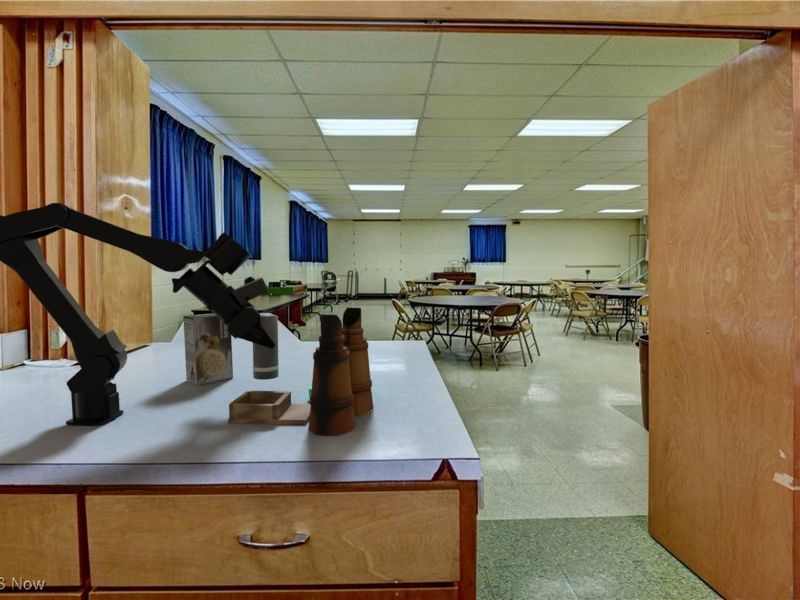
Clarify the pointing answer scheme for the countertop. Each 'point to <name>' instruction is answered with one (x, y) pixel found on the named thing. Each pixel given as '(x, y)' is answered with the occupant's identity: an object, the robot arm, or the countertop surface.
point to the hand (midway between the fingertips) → (272, 344)
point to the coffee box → (207, 349)
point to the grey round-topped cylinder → (266, 351)
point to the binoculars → (340, 375)
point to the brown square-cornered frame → (267, 409)
